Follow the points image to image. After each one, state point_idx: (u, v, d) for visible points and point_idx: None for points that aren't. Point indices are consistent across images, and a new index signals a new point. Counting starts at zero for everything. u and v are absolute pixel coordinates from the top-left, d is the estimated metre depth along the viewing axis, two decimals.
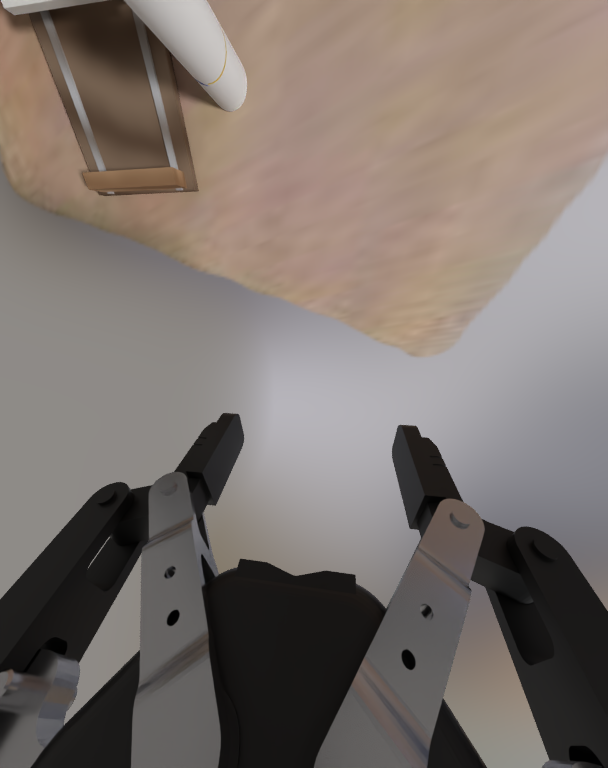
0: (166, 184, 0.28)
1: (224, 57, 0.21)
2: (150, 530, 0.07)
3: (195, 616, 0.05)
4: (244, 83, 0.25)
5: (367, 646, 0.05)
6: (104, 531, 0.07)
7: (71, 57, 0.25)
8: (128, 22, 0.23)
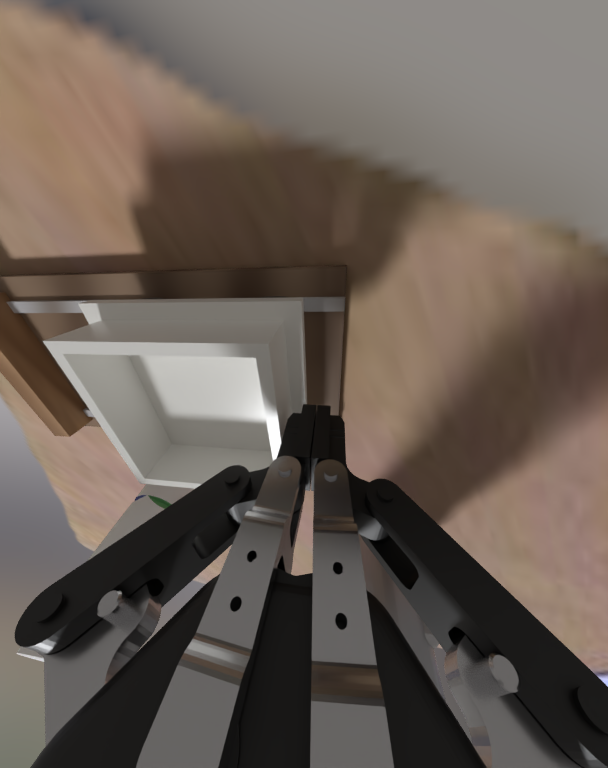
0: (47, 424, 0.21)
1: None
2: (257, 499, 0.07)
3: (249, 623, 0.05)
4: None
5: (310, 644, 0.05)
6: (217, 512, 0.07)
7: None
8: None
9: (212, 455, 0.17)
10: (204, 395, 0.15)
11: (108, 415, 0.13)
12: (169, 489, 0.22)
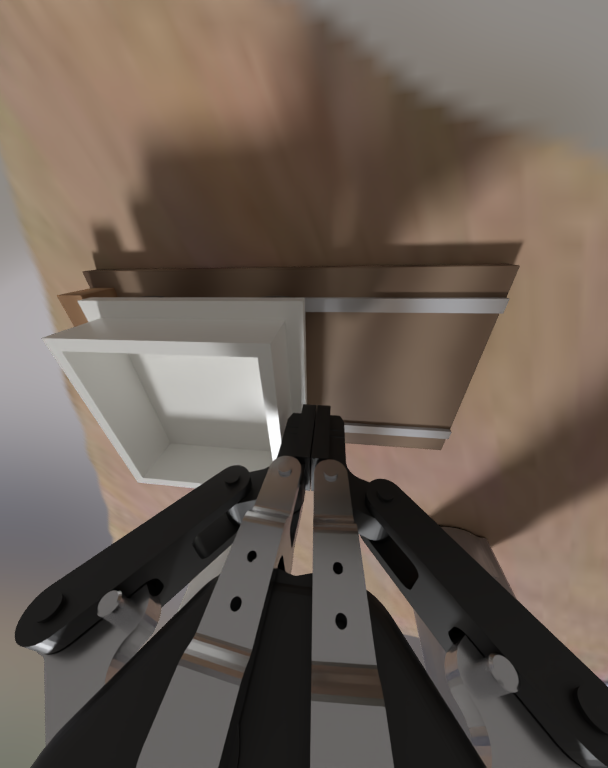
0: None
1: None
2: (257, 499, 0.07)
3: (249, 623, 0.05)
4: None
5: (310, 644, 0.05)
6: (217, 512, 0.07)
7: None
8: None
9: (211, 454, 0.17)
10: (203, 394, 0.15)
11: (107, 414, 0.12)
12: None
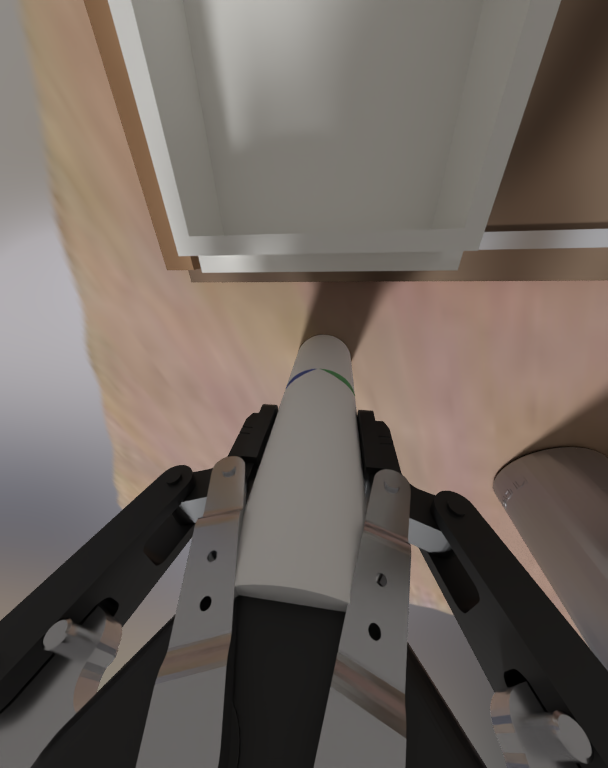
0: (160, 243, 0.12)
1: None
2: (206, 505, 0.07)
3: (223, 612, 0.05)
4: None
5: (338, 637, 0.05)
6: (165, 512, 0.07)
7: None
8: None
9: None
10: (310, 59, 0.08)
11: None
12: (342, 368, 0.14)
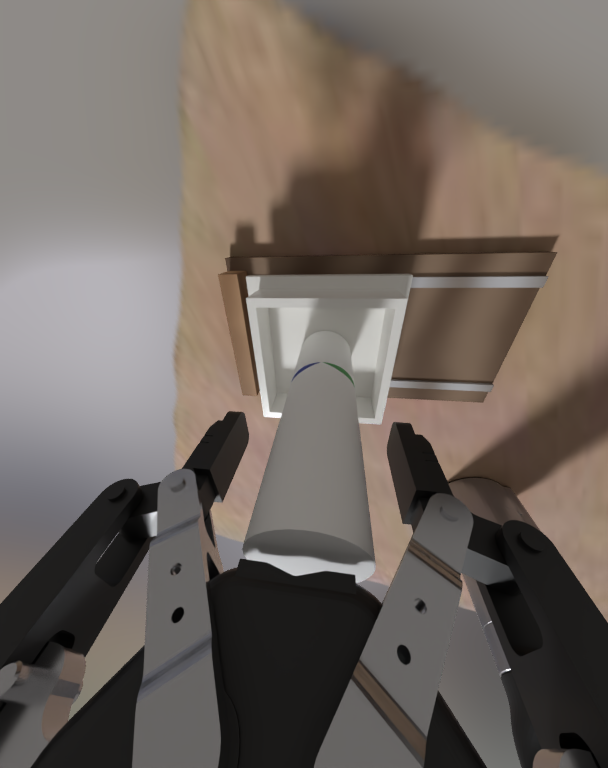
0: (241, 385, 0.24)
1: None
2: (158, 526, 0.07)
3: (199, 615, 0.05)
4: None
5: (363, 644, 0.05)
6: (113, 527, 0.07)
7: None
8: None
9: None
10: None
11: (263, 357, 0.18)
12: (342, 361, 0.15)
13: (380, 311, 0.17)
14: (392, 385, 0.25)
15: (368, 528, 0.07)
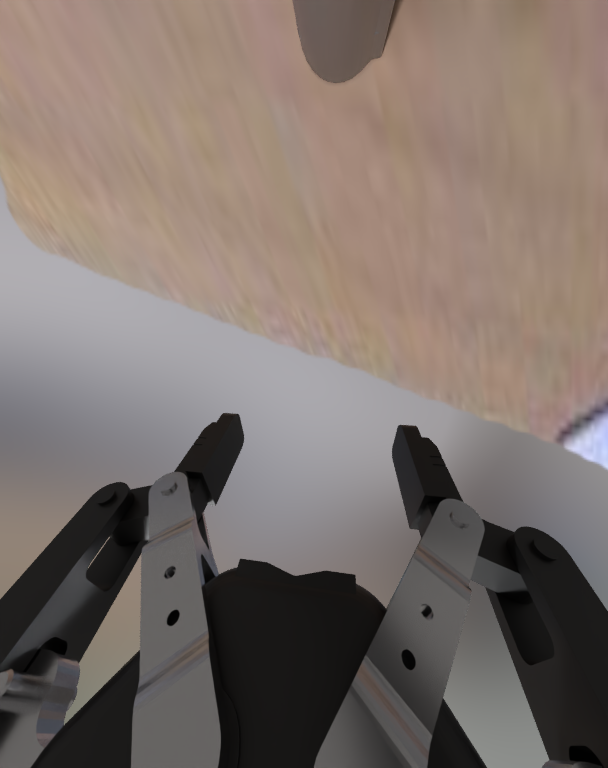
0: None
1: None
2: (150, 530, 0.07)
3: (195, 616, 0.05)
4: None
5: (367, 646, 0.05)
6: (104, 531, 0.07)
7: None
8: None
9: None
10: None
11: None
12: None
13: None
14: None
15: None
